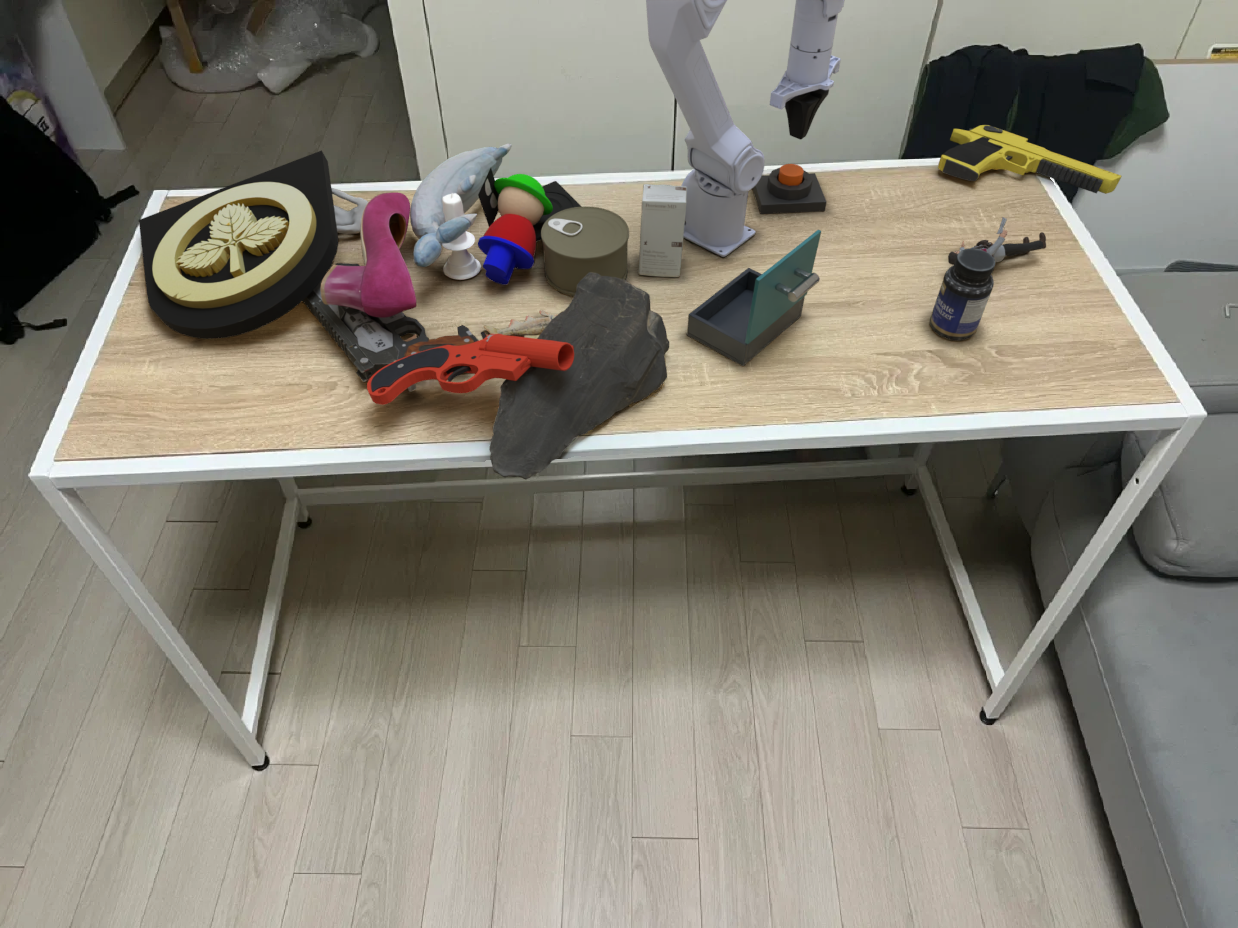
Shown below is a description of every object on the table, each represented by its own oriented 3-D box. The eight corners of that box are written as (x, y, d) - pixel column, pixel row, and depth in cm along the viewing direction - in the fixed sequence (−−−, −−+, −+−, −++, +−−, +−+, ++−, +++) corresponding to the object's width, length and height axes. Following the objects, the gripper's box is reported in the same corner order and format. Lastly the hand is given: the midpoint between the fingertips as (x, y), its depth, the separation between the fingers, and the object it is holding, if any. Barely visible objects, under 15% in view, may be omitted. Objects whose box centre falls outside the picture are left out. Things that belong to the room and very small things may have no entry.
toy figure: (464, 276, 132) (501, 184, 135) (527, 297, 132) (563, 204, 135) (455, 249, 123) (495, 151, 126) (522, 271, 123) (560, 173, 126)
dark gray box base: (686, 335, 123) (688, 314, 120) (745, 288, 130) (748, 267, 127) (743, 366, 119) (746, 345, 116) (801, 316, 126) (805, 295, 123)
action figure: (1055, 208, 129) (966, 222, 124) (1062, 257, 129) (974, 273, 125) (1008, 222, 137) (923, 236, 133) (1015, 269, 138) (931, 284, 134)
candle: (455, 253, 135) (443, 179, 126) (487, 262, 133) (478, 188, 124) (436, 274, 131) (422, 200, 122) (469, 284, 130) (458, 209, 121)
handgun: (1097, 209, 137) (1126, 167, 145) (930, 149, 146) (967, 112, 155) (1087, 229, 139) (1117, 186, 148) (924, 169, 149) (960, 132, 157)
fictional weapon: (389, 261, 135) (290, 296, 128) (386, 239, 132) (284, 274, 126) (490, 366, 120) (384, 412, 113) (488, 345, 117) (379, 390, 111)
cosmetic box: (638, 276, 131) (639, 201, 122) (639, 257, 134) (641, 182, 125) (681, 278, 131) (686, 203, 122) (682, 259, 134) (687, 184, 125)
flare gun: (361, 406, 111) (440, 337, 119) (505, 435, 98) (582, 355, 107) (350, 385, 109) (431, 316, 118) (495, 411, 96) (574, 332, 105)
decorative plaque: (132, 353, 117) (129, 206, 134) (152, 374, 121) (147, 228, 138) (343, 274, 118) (314, 137, 134) (358, 297, 121) (327, 161, 138)
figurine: (263, 247, 140) (392, 254, 139) (245, 235, 135) (380, 243, 133) (269, 183, 141) (398, 190, 139) (252, 169, 135) (386, 176, 134)
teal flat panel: (755, 278, 109) (781, 292, 107) (818, 229, 115) (843, 241, 114) (744, 342, 116) (768, 356, 115) (804, 292, 123) (827, 305, 121)
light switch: (496, 206, 136) (555, 179, 139) (501, 228, 140) (559, 202, 142) (528, 241, 131) (589, 213, 133) (533, 264, 134) (592, 236, 137)
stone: (568, 286, 122) (431, 450, 108) (611, 247, 112) (465, 423, 98) (655, 368, 126) (533, 537, 112) (705, 338, 115) (576, 520, 101)
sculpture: (537, 212, 120) (525, 157, 141) (500, 165, 116) (494, 115, 137) (429, 291, 124) (433, 226, 145) (390, 248, 120) (400, 187, 141)
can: (605, 308, 127) (604, 267, 122) (528, 284, 130) (524, 242, 125) (642, 260, 134) (643, 219, 129) (568, 238, 137) (566, 197, 132)
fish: (568, 302, 125) (578, 330, 122) (568, 311, 126) (578, 338, 124) (482, 320, 123) (490, 349, 120) (483, 329, 124) (491, 357, 122)
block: (760, 214, 142) (762, 194, 139) (750, 185, 147) (753, 165, 144) (825, 211, 142) (828, 190, 139) (813, 182, 147) (817, 162, 145)
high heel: (386, 177, 132) (470, 186, 131) (393, 234, 137) (474, 243, 136) (309, 258, 112) (408, 270, 111) (321, 321, 118) (415, 333, 116)
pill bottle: (920, 317, 125) (941, 249, 117) (960, 308, 127) (984, 240, 118) (944, 346, 122) (967, 277, 113) (985, 337, 123) (1011, 268, 115)
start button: (780, 187, 141) (782, 176, 140) (776, 174, 143) (777, 163, 142) (804, 186, 141) (806, 175, 140) (799, 173, 143) (800, 162, 142)
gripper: (806, 71, 121) (792, 165, 131) (865, 33, 128) (847, 125, 139) (762, 55, 124) (751, 148, 134) (822, 18, 131) (807, 109, 142)
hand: (797, 135), depth 137 cm, fingers closed
